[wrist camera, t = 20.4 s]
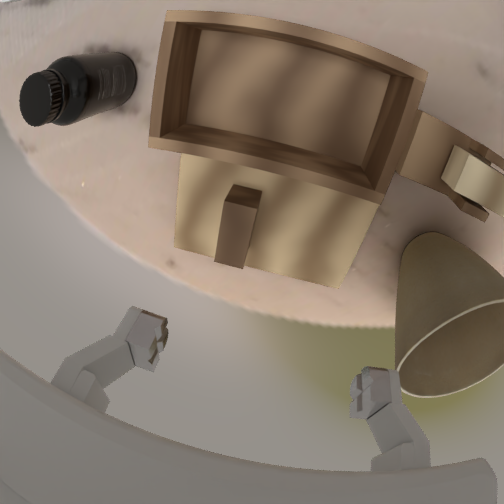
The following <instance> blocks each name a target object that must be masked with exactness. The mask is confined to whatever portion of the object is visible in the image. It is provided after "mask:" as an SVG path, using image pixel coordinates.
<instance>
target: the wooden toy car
mask: <svg viewBox="0 0 504 504" xmlns="http://www.w3.org/2000/svg"><path fill="white" fill-rule="evenodd" d="M441 179H442V180H443V181H444V182H445V183H447V184H448V185H449V186H450V187H451V188H452V189H453V190H454V191H455V192H457V193H459V194H461V195H463V196H465V197H467V198H469V199H471V200H473V201H475V202H477V203H479V204H480V205H482V206H484V207H486V208H488V209H490V210H491V211H493V212H495V213H497V214H498V215H500V216H502V217H503V218H504V175H503V174H501V173H500V172H499V171H497V170H496V169H494V168H493V167H491V166H489V165H488V164H486V163H485V162H483V161H482V160H480V159H478V158H477V157H475V156H473V155H472V154H470V153H468V152H467V151H465V150H463V149H462V148H460V147H458V146H456V145H454V148H453V150H452V153H451V155H450V158H449V160H448V163H447V165H446V167H445V170H444V172H443V175H442V177H441Z"/></svg>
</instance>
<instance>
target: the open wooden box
mask: <svg viewBox="0 0 504 504" xmlns="http://www.w3.org/2000/svg"><path fill="white" fill-rule="evenodd" d="M427 76H428V72H427V71H425V70H423V69H421V68H419V67H417V66H415V65H413V64H411V63H409V62H407V61H405V60H403V59H400V58H398V57H396V56H394V55H391V54H389V53H386V52H384V51H382V50H379V49H377V48H374V47H371V46H369V45H366V44H363V43H361V42H358V41H355V40H352V39H349V38H346V37H343V36H340V35H337V34H333V33H330V32H327V31H323V30H319V29H316V28H312V27H308V26H304V25H300V24H295V23H291V22H286V21H281V20H276V19H270V18H264V17H258V16H251V15H244V14H235V13H225V12H213V11H192V10H167V13H166V17H165V22H164V27H163V32H162V38H161V43H160V49H159V55H158V61H157V68H156V75H155V82H154V90H153V99H152V108H151V119H150V130H149V144H148V147H149V148H155V149H161V150H167V151H173V152H178V153H184V154H189V155H194V156H200V157H205V158H209V159H214V160H219V161H224V162H228V163H233V164H237V165H242V166H246V167H250V168H254V169H259V170H263V171H267V172H271V173H275V174H279V175H282V176H286V177H290V178H294V179H297V180H301V181H305V182H308V183H312V184H315V185H319V186H322V187H326V188H329V189H332V190H336V191H339V192H342V193H345V194H349V195H352V196H355V197H358V198H361V199H364V200H367V201H370V202H373V203H376V204H379V205H381V203H382V201H383V199H384V196H385V194H386V192H387V189H388V187H389V184H390V182H391V180H392V177H393V175H394V172H395V170H396V171H397V173H398V174H399V175H401V176H403V177H406V178H408V179H411V180H413V181H416V182H418V183H420V184H423V185H425V186H427V187H430V188H432V189H434V190H436V191H439V192H441V193H443V194H445V195H447V196H448V197H449V198H450V199H451V200H452V201H453V202H454V203H455V204H456V205H457V207H458V208H459V209H460V210H461V211H463V212H465V213H467V214H469V215H471V216H473V217H475V218H477V219H479V220H481V221H483V222H485V221H486V219H487V218H488V216H489V213H488V212H487V211H486V210H485V209H484V208H483V207H482V206H481V205H480V204H479V203H477V202H475V201H473V200H471V199H469V198H467V197H465V196H463V195H461V194H459V193H457V192H455V191H454V190H453V189H452V188H451V187H450V186H449V185H448V184H447V183H445V182H444V181H443V180H442V179H441V177H442V175H443V172H444V170H445V167H446V165H447V163H448V160H449V158H450V155H451V153H452V150H453V148H454V145H456V146H458V147H460V148H462V149H463V150H465V151H467V152H468V153H470V154H472V155H473V156H475V157H477V158H478V159H480V160H482V161H483V162H485V163H486V164H488V165H489V166H490V165H491V163H494V164H495V165H497V166H498V167H500V168H501V169H503V170H504V159H503V158H502V157H501V156H499V155H498V154H496V153H495V152H493V151H492V150H490V149H489V148H487V147H486V146H484V145H482V144H481V143H479V142H477V141H475V140H474V139H472V138H470V137H469V136H467V135H465V134H464V133H462V132H460V131H458V130H457V129H455V128H453V127H451V126H450V125H448V124H446V123H444V122H442V121H440V120H439V119H437V118H435V117H433V116H431V115H429V114H427V113H425V112H423V111H421V110H418V106H419V103H420V99H421V96H422V93H423V90H424V86H425V83H426V79H427Z"/></svg>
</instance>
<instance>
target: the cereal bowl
mask: <svg viewBox="0 0 504 504" xmlns="http://www.w3.org/2000/svg"><path fill="white" fill-rule="evenodd" d="M13 1H19V0H0V2H13Z"/></svg>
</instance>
